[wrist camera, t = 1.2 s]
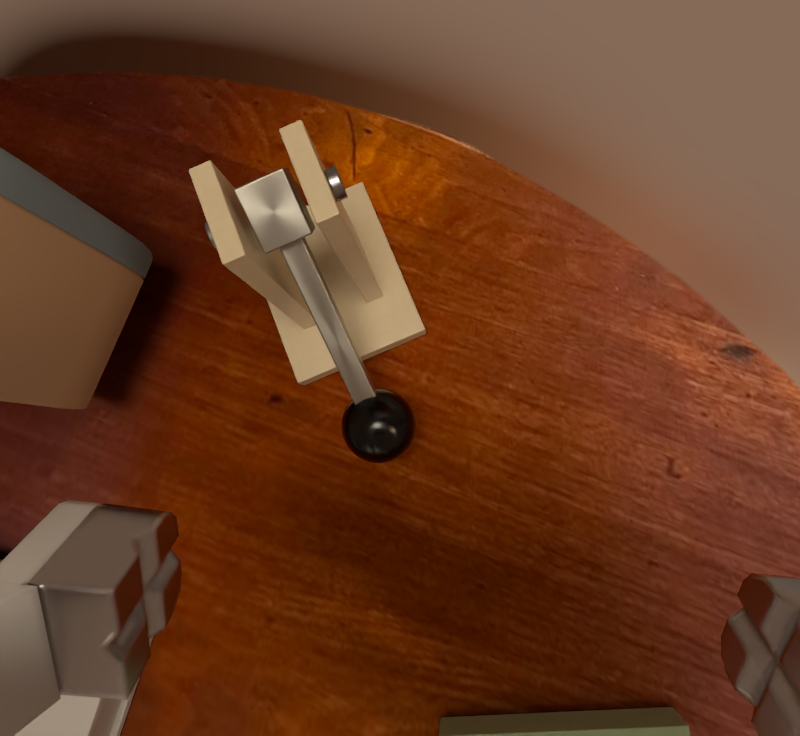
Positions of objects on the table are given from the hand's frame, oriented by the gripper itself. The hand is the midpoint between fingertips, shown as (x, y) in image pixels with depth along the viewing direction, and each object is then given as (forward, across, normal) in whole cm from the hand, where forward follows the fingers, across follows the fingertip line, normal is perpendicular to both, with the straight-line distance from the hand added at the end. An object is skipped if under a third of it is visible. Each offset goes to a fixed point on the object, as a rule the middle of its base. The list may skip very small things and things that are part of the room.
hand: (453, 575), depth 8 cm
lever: (+20, +5, +3) cm, 21 cm away
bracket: (+28, +6, +4) cm, 29 cm away
